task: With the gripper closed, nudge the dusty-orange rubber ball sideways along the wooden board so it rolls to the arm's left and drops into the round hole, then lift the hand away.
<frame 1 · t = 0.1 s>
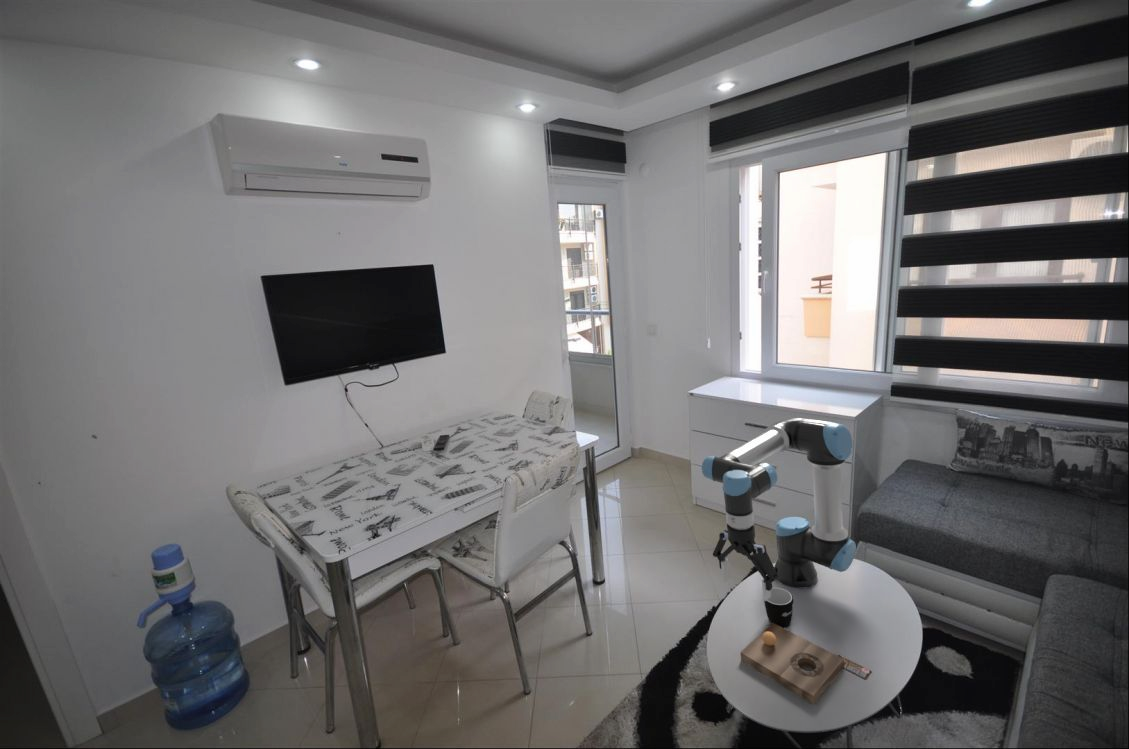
hand: (746, 588, 147), 28 cm above the table, fingers open, 13 cm apart
chocolate bar: (852, 669, 148), on the table
ball: (769, 638, 157), point 5 cm above the table, touching wooden board
mug: (782, 620, 170), on the table
wooden board: (791, 663, 152), on the table
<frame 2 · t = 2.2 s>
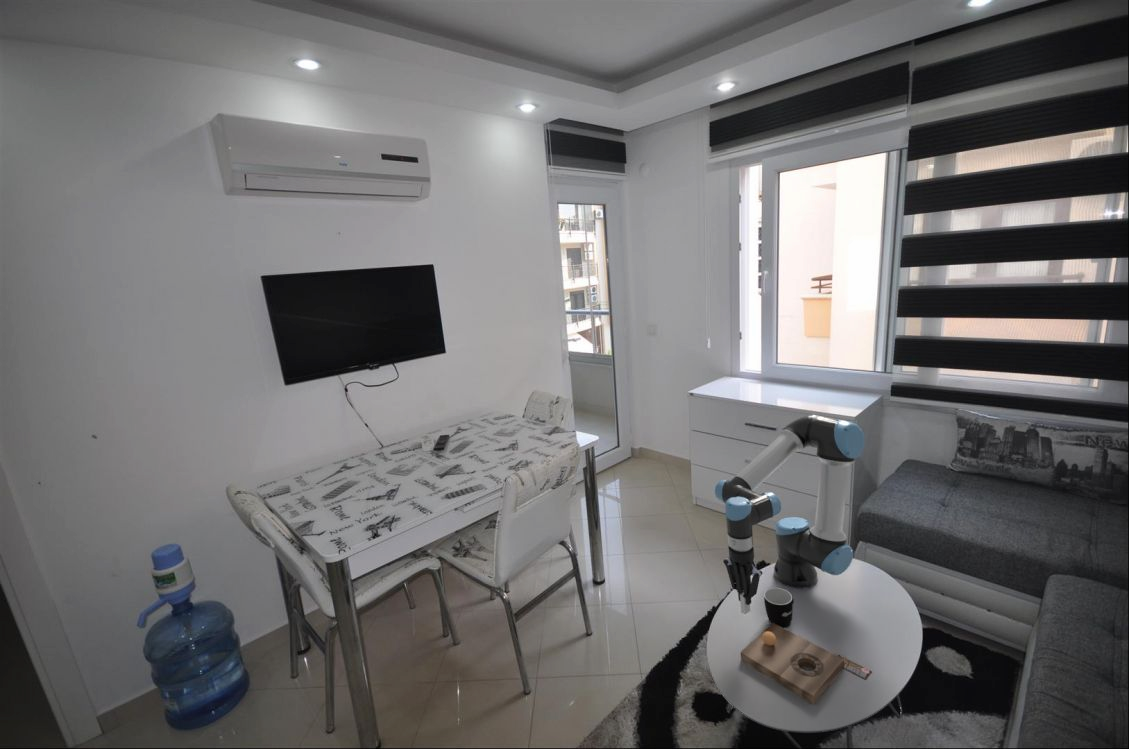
hand: (745, 611, 161), 11 cm above the table, fingers closed
nothing on the table moved.
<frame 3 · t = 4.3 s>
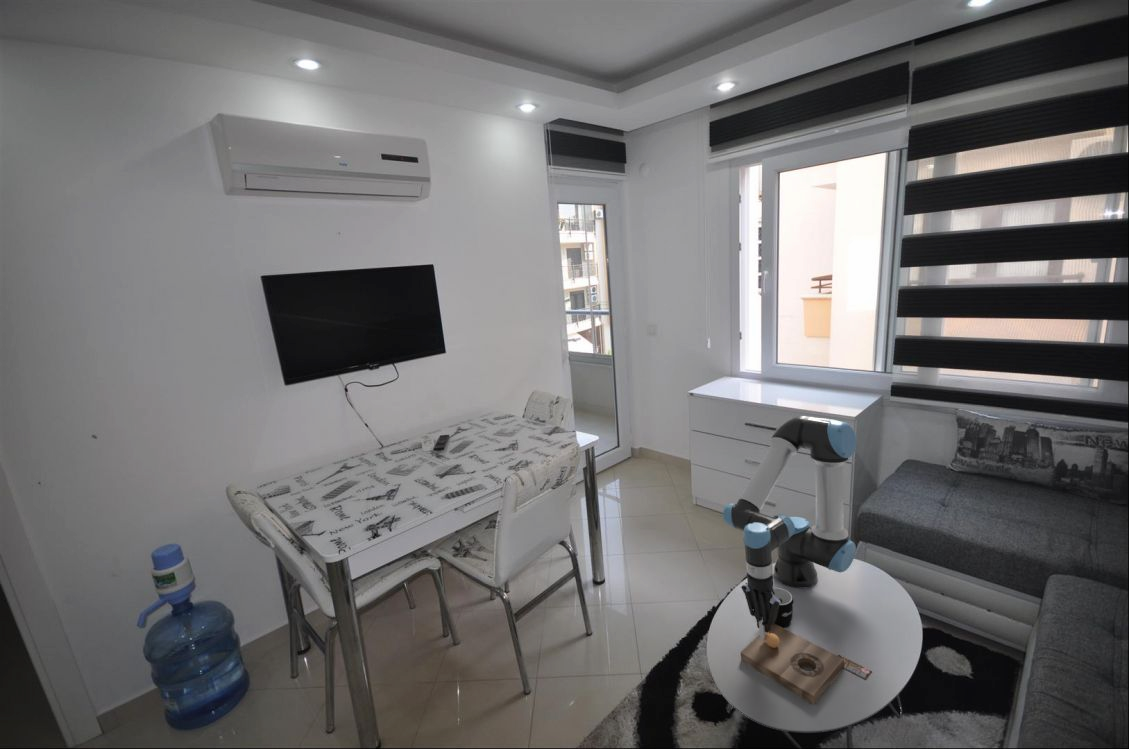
hand: (764, 638, 158), 4 cm above the table, fingers closed
ball: (772, 640, 156), point 5 cm above the table, tilted 33°, touching wooden board, gripper
everything else where it was.
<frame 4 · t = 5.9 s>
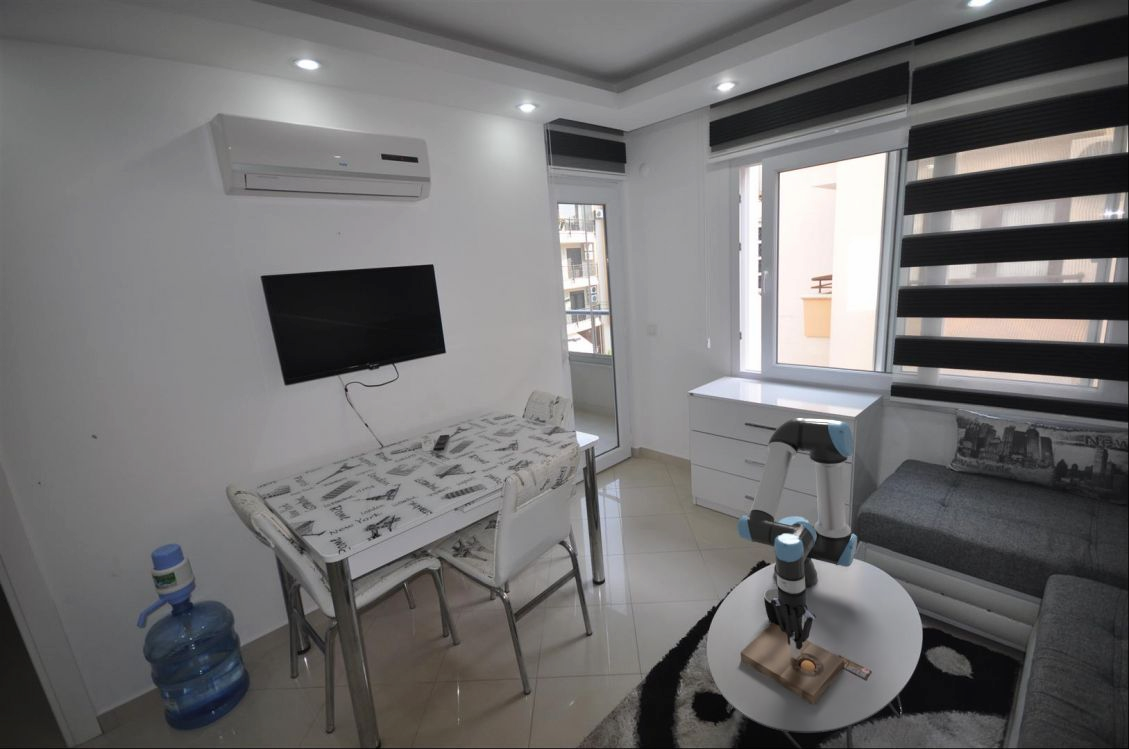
hand: (795, 655, 150), 4 cm above the table, fingers closed
ball: (808, 668, 147), point 2 cm above the table, tilted 24°
everything else where it was.
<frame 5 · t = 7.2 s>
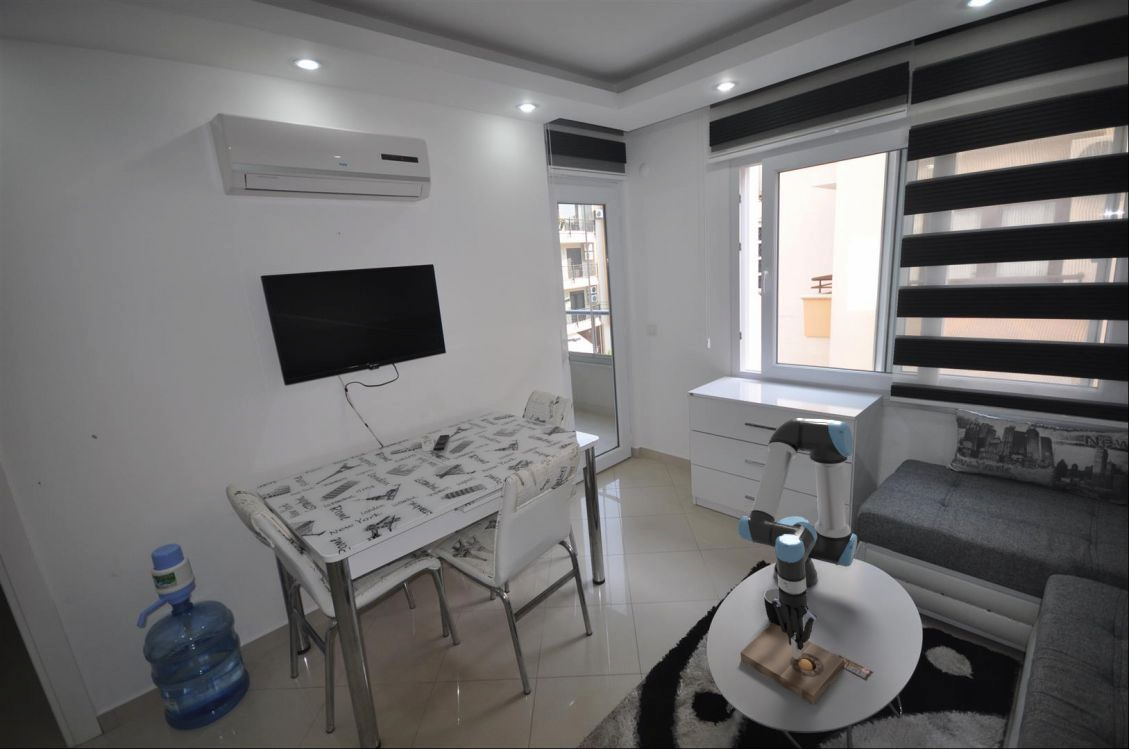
hand: (796, 655, 150), 4 cm above the table, fingers closed
ball: (805, 666, 148), point 2 cm above the table
everything else where it was.
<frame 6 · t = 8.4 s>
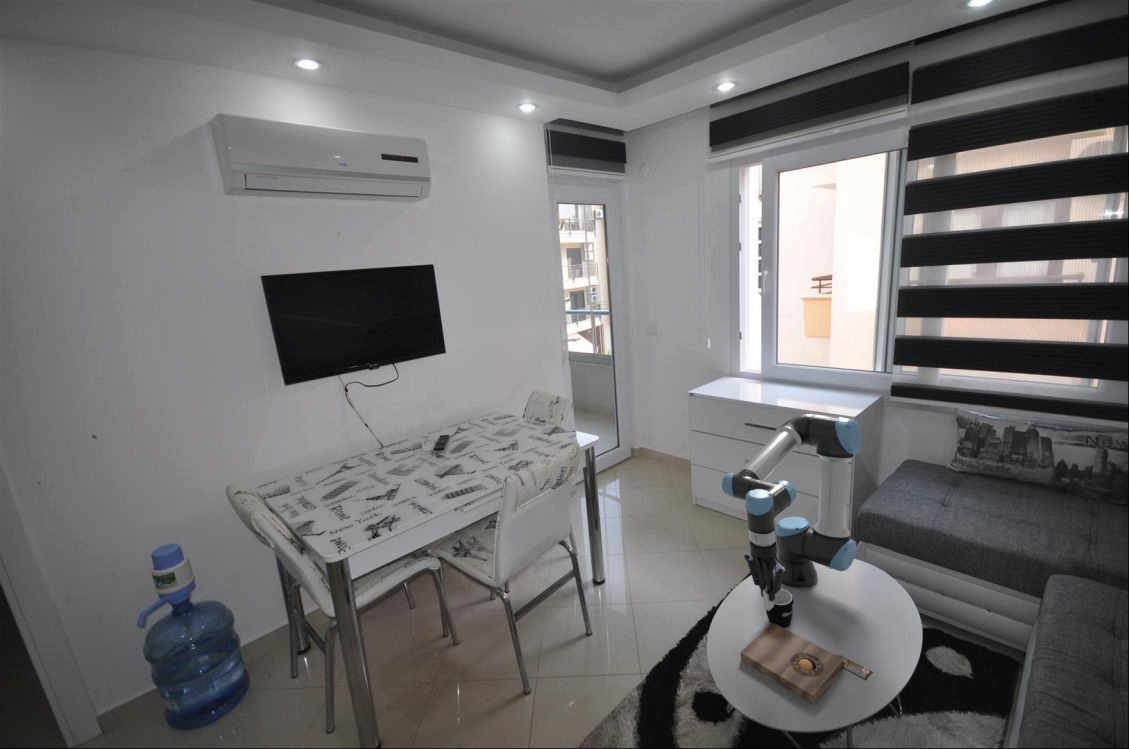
hand: (769, 607, 154), 16 cm above the table, fingers closed
nothing on the table moved.
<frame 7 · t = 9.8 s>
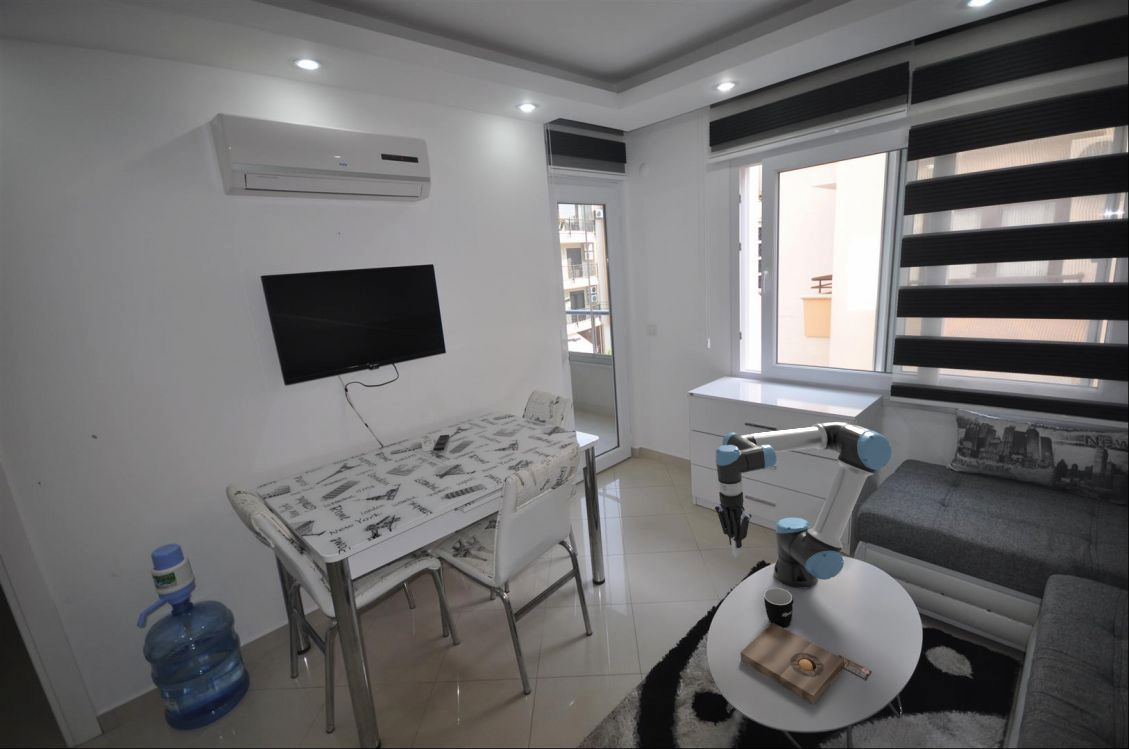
hand: (736, 554, 170), 24 cm above the table, fingers closed
nothing on the table moved.
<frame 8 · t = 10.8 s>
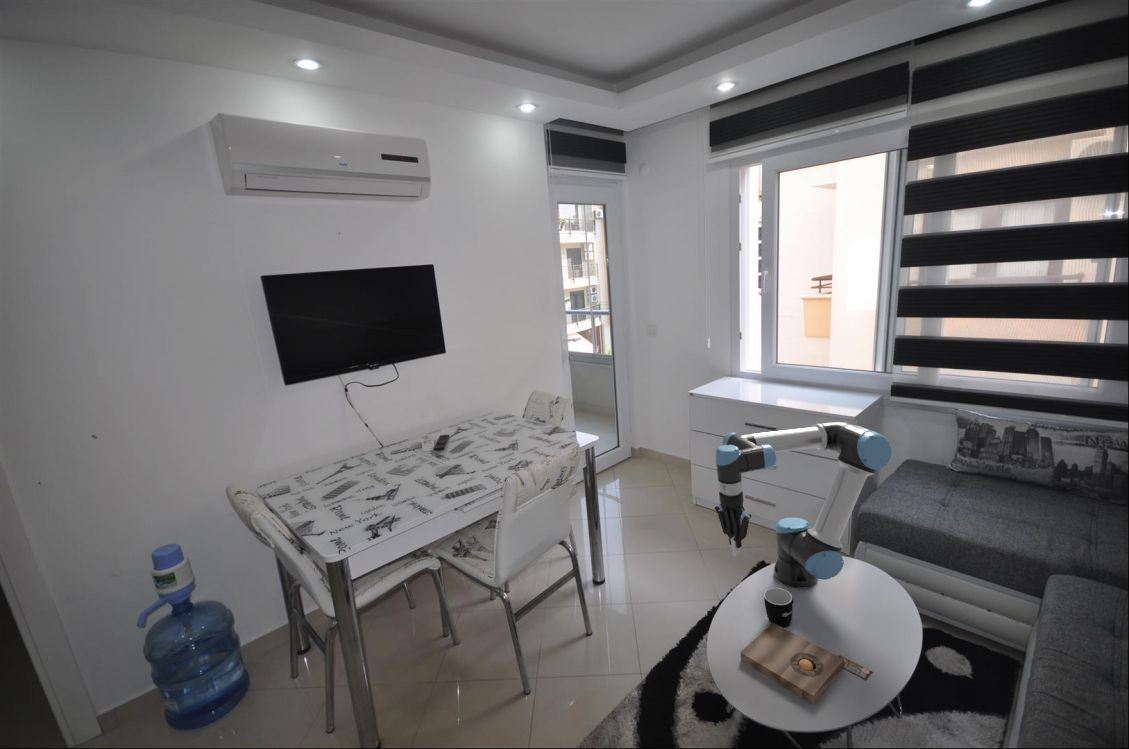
hand: (736, 554, 170), 24 cm above the table, fingers closed
nothing on the table moved.
at the end: ball 0.3 cm from the target spot on the wooden board, point 2.0 cm above the wooden board's base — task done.
